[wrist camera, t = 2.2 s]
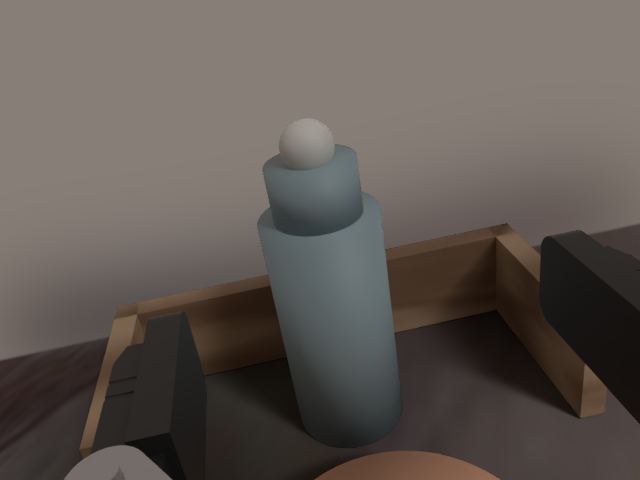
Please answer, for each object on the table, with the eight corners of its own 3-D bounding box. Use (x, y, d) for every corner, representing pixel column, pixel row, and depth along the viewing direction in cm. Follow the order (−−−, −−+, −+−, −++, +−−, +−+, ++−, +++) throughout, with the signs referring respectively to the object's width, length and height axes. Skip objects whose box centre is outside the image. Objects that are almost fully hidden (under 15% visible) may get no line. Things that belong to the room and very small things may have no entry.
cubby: (144, 376, 34) (117, 306, 32) (506, 294, 36) (506, 223, 33) (119, 530, 25) (78, 449, 23) (604, 412, 27) (614, 325, 24)
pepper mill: (412, 379, 30) (385, 96, 23) (387, 457, 26) (344, 142, 19) (321, 366, 32) (270, 102, 25) (284, 437, 28) (210, 145, 21)
